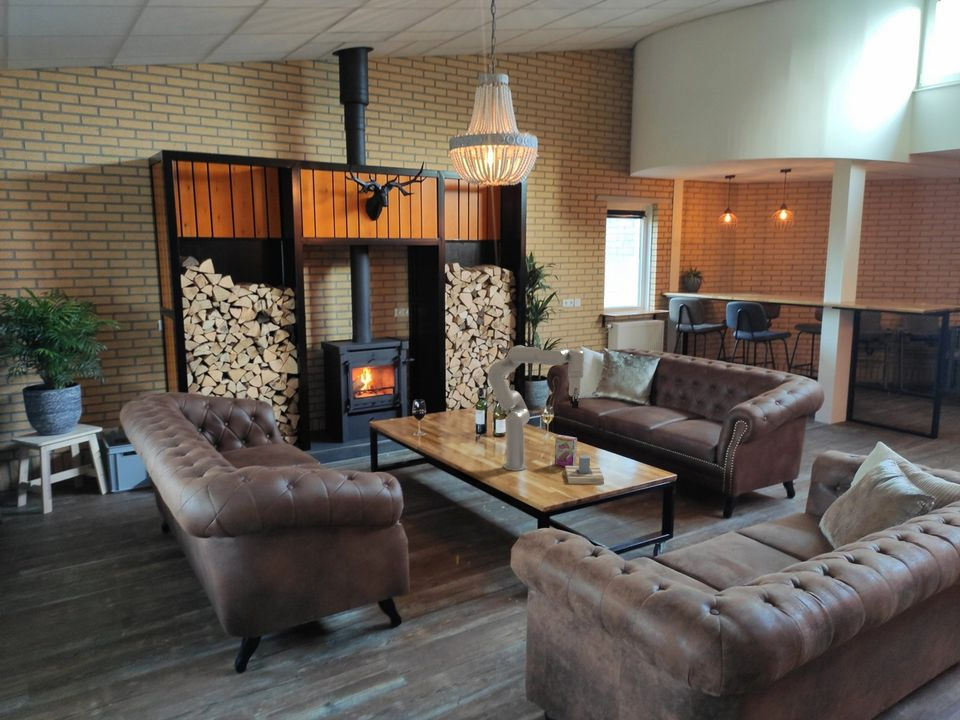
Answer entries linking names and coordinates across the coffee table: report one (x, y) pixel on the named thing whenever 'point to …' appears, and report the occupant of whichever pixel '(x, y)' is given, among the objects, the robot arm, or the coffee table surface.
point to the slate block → (584, 464)
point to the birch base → (584, 475)
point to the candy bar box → (565, 450)
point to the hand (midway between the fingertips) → (574, 406)
